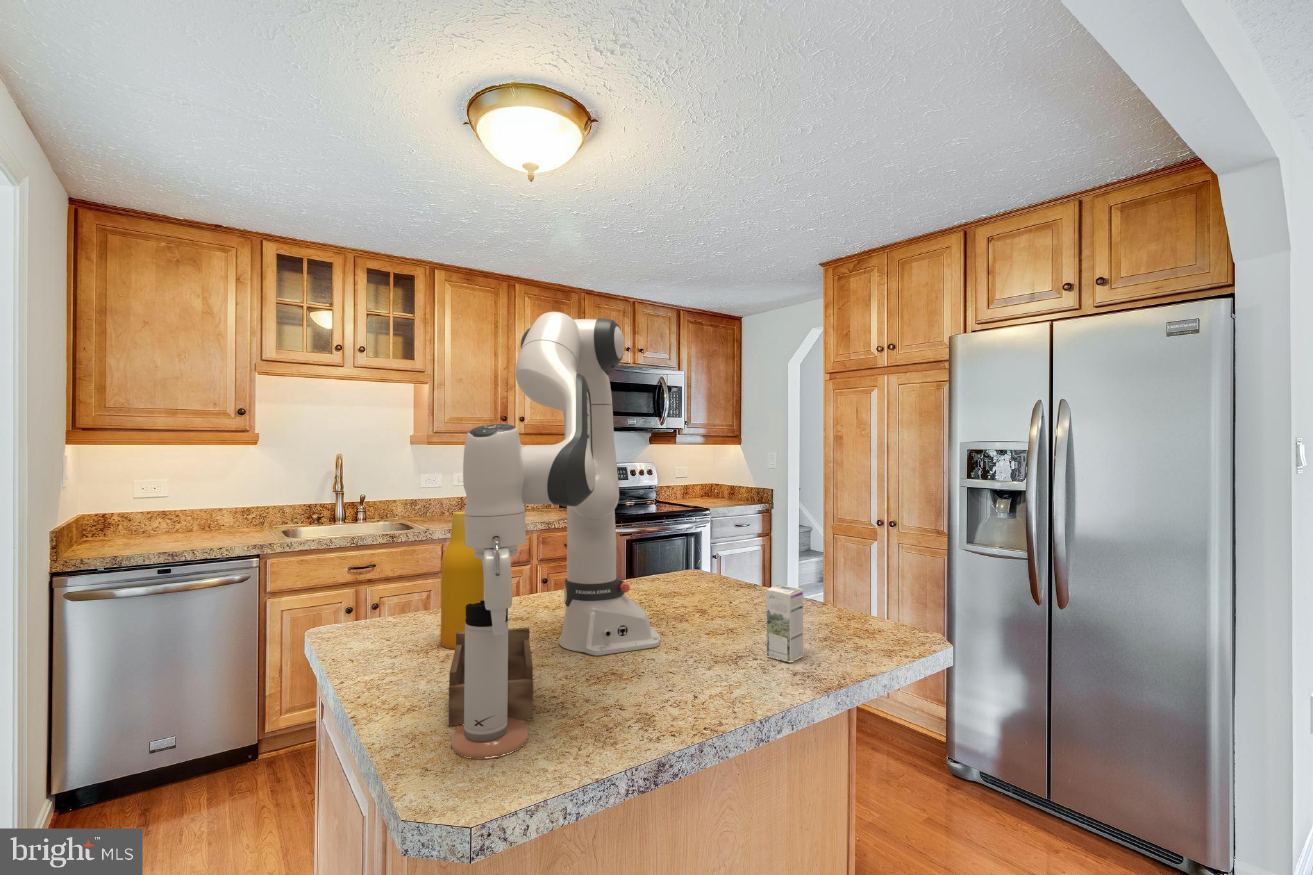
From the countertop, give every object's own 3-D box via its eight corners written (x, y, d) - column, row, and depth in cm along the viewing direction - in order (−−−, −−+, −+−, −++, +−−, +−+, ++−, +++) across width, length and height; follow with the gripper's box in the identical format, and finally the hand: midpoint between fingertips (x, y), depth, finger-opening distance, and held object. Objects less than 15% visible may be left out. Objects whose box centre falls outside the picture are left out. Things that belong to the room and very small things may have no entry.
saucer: (526, 720, 100) (526, 713, 100) (529, 754, 89) (529, 745, 89) (454, 728, 97) (454, 720, 97) (448, 763, 87) (448, 754, 87)
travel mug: (483, 747, 89) (484, 606, 89) (455, 734, 93) (456, 599, 93) (517, 731, 94) (518, 598, 94) (489, 719, 98) (490, 591, 98)
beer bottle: (450, 652, 132) (451, 515, 132) (433, 642, 139) (434, 512, 139) (491, 643, 138) (492, 512, 139) (472, 634, 145) (473, 509, 146)
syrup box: (804, 657, 130) (804, 587, 131) (789, 664, 126) (789, 592, 126) (780, 651, 134) (780, 583, 134) (765, 657, 130) (765, 588, 130)
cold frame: (528, 681, 117) (529, 627, 117) (532, 717, 101) (533, 655, 101) (456, 687, 114) (456, 632, 114) (448, 726, 98) (449, 662, 98)
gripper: (520, 541, 84) (524, 643, 84) (514, 522, 104) (516, 605, 104) (472, 544, 83) (475, 649, 83) (474, 525, 102) (477, 609, 102)
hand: (498, 624), depth 93 cm, fingers open, 8 cm apart
